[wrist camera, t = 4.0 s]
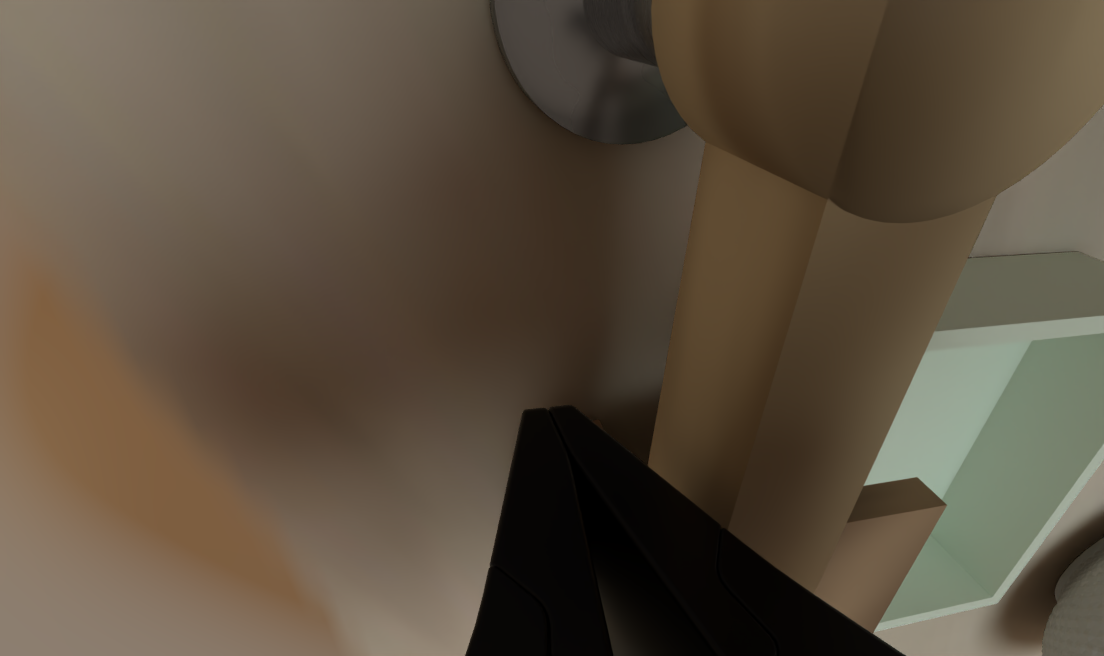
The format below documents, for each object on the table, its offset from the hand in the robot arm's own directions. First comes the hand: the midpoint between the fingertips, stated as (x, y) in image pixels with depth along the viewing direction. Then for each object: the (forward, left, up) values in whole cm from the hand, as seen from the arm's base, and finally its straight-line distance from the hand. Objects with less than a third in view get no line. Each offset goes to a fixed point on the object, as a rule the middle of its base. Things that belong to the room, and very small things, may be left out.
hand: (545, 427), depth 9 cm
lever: (-3, +2, 0) cm, 3 cm away
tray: (-14, +8, -6) cm, 17 cm away
